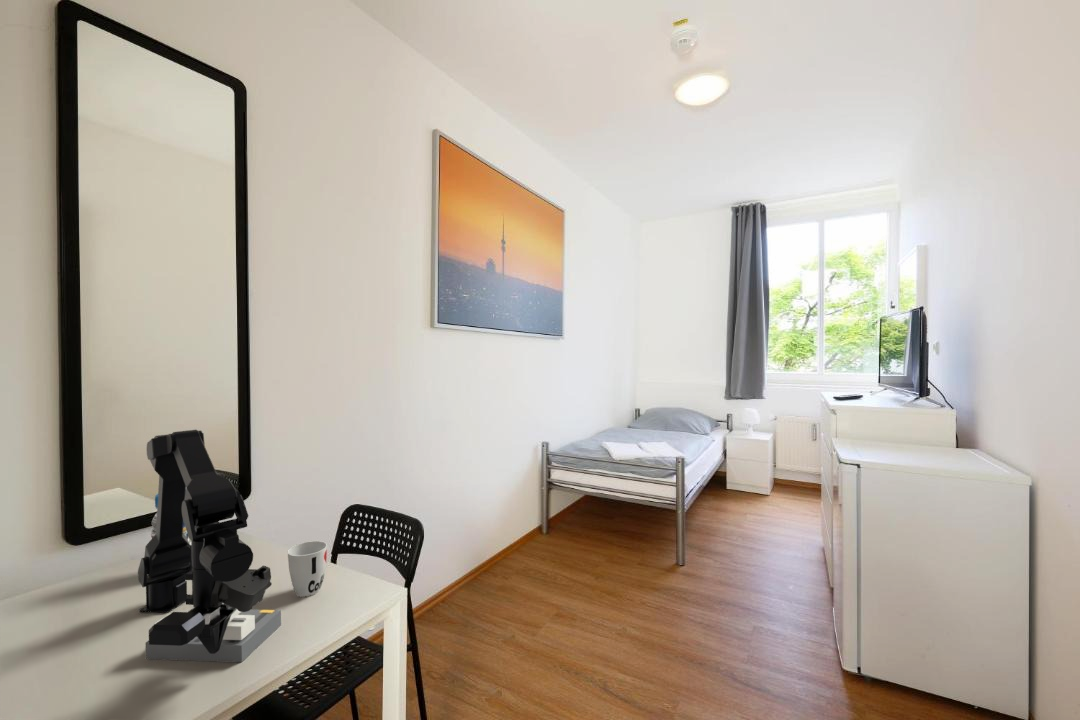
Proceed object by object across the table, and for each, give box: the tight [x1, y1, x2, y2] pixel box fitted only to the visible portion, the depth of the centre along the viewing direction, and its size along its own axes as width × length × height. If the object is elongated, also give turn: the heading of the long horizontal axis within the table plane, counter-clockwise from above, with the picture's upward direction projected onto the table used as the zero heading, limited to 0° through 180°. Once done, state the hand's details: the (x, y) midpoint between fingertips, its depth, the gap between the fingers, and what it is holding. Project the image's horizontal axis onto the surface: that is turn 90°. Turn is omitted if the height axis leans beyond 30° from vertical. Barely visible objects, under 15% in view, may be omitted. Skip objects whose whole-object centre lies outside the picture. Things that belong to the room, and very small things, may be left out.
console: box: [145, 609, 282, 663], centre depth 86 cm, size 18×11×3 cm, turn 87°
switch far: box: [223, 615, 255, 640], centre depth 83 cm, size 4×4×3 cm
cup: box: [287, 540, 328, 598], centre depth 104 cm, size 8×8×10 cm
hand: (214, 652), depth 77 cm, fingers closed
